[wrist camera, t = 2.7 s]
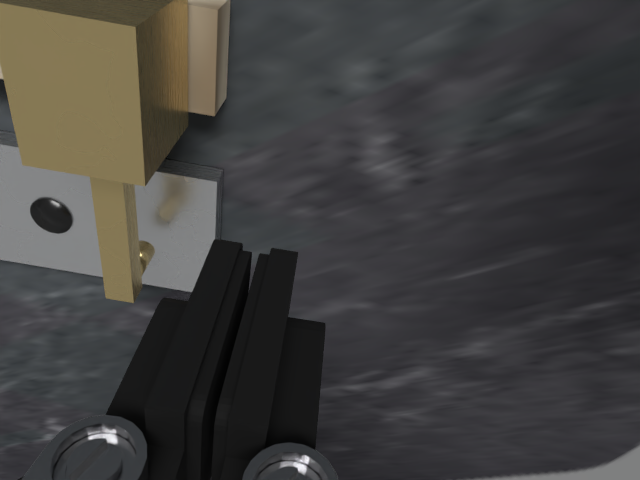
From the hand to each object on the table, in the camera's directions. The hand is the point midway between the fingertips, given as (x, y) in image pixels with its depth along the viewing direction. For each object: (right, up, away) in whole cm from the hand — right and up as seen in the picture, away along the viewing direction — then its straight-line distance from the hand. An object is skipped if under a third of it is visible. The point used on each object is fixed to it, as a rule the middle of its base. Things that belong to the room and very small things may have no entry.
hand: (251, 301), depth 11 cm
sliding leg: (-6, +5, +11) cm, 13 cm away
